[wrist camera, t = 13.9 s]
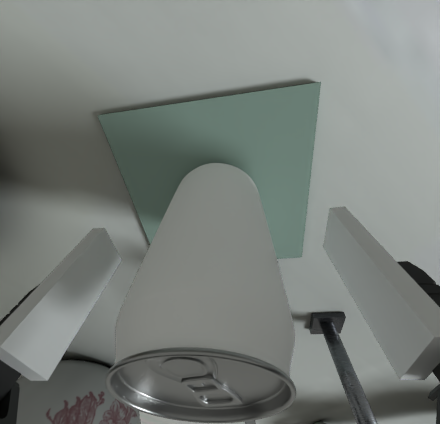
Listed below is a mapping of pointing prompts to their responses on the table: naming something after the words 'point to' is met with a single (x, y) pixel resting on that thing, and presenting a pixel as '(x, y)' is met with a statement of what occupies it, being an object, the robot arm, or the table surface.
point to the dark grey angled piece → (341, 364)
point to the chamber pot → (72, 397)
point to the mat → (223, 153)
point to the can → (207, 310)
